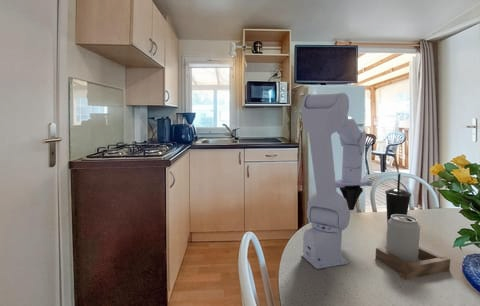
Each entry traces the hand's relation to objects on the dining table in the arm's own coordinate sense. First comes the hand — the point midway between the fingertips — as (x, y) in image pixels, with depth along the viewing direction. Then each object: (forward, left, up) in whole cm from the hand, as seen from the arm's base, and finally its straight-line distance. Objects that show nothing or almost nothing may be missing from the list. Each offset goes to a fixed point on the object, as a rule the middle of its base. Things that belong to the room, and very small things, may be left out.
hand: (350, 209), depth 90 cm
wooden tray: (+3, -19, -9) cm, 21 cm away
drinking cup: (+18, -1, -10) cm, 21 cm away
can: (+3, -17, -10) cm, 20 cm away
